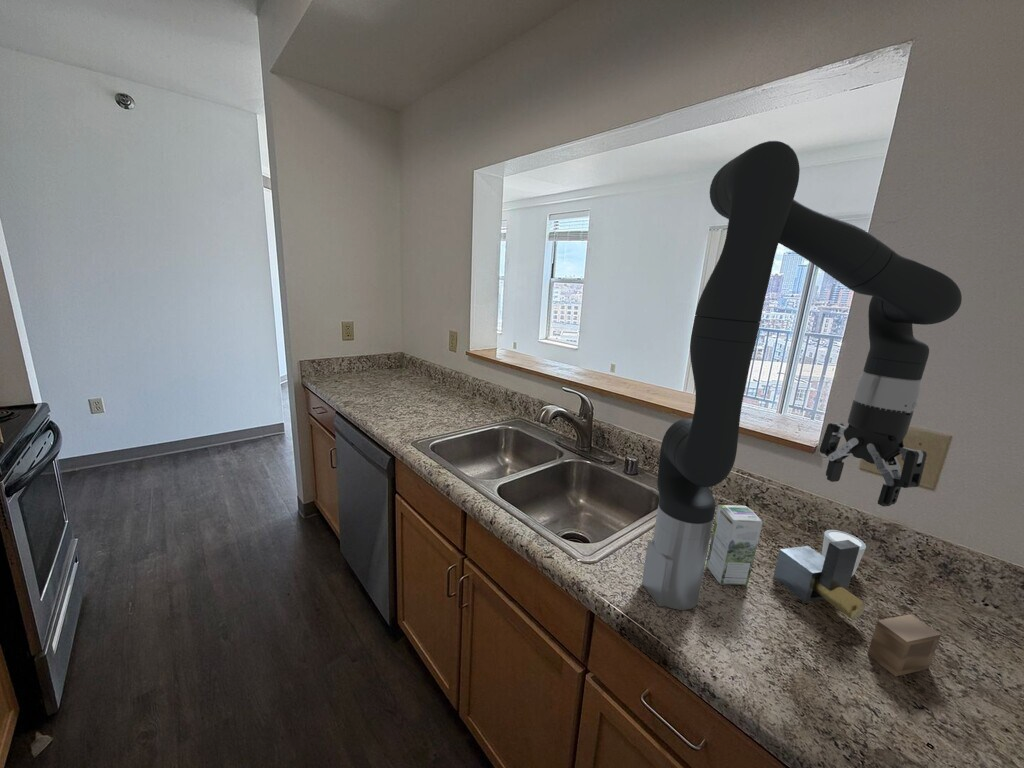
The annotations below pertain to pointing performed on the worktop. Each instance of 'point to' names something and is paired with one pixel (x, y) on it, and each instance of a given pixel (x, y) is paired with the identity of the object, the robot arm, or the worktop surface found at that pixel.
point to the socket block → (903, 644)
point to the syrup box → (733, 544)
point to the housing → (800, 571)
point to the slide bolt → (839, 578)
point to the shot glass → (840, 536)
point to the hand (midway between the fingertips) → (857, 492)
